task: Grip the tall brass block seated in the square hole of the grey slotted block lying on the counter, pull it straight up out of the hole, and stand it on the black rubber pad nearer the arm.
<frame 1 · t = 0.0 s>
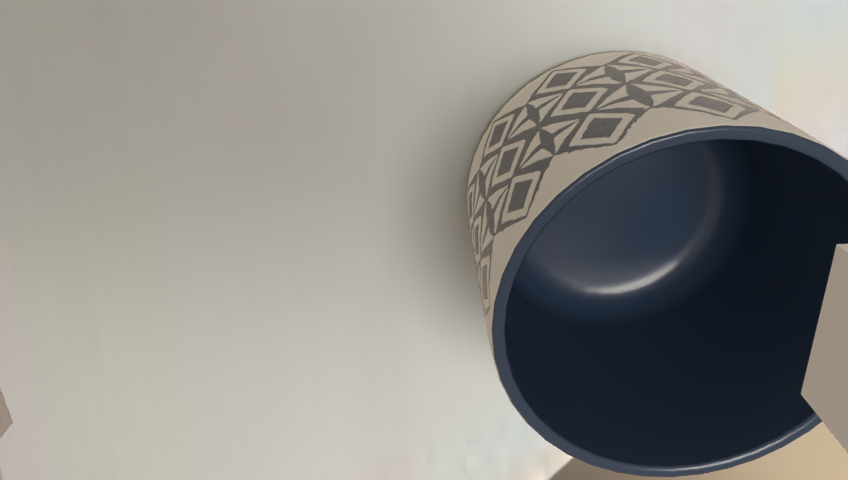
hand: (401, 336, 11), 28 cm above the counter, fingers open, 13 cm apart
planter: (603, 188, 40), on the counter
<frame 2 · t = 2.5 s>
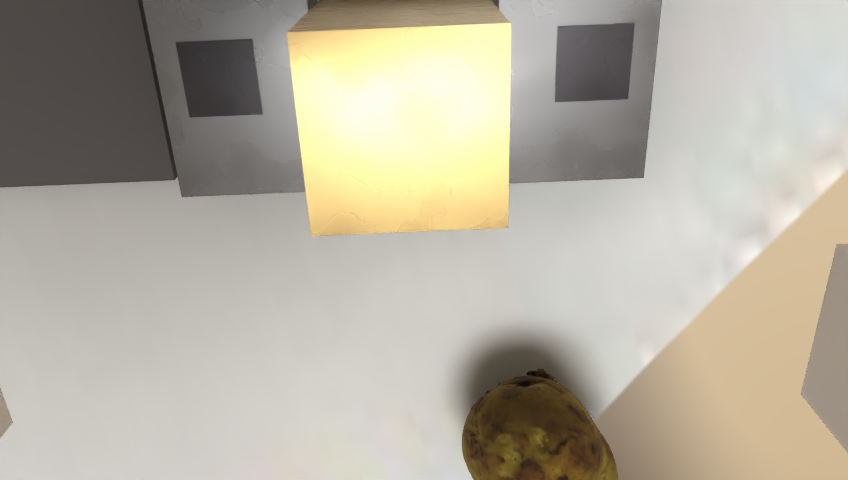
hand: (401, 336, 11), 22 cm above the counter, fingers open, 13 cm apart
pad: (45, 72, 31), on the counter
grey slotted block: (407, 56, 31), on the counter
potato: (529, 423, 40), on the counter
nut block: (407, 56, 31), resting in grey slotted block
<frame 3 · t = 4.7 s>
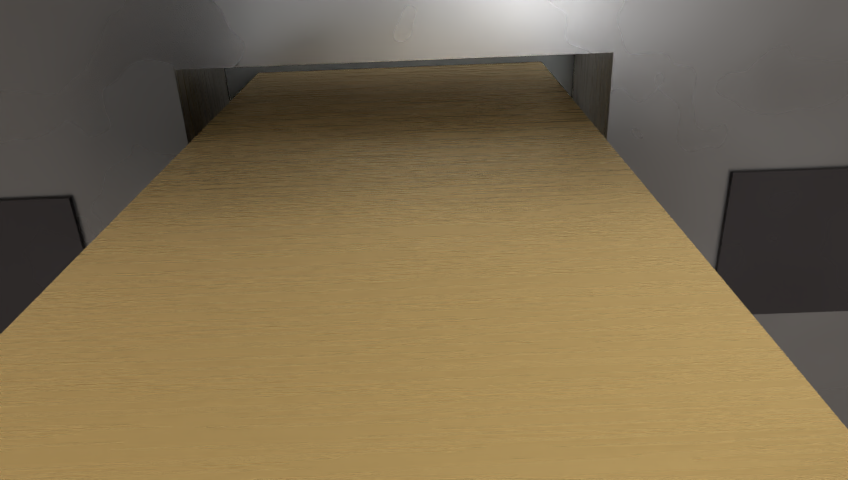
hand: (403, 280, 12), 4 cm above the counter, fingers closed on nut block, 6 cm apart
grey slotted block: (406, 199, 16), on the counter
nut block: (406, 198, 16), resting in grey slotted block, touching gripper
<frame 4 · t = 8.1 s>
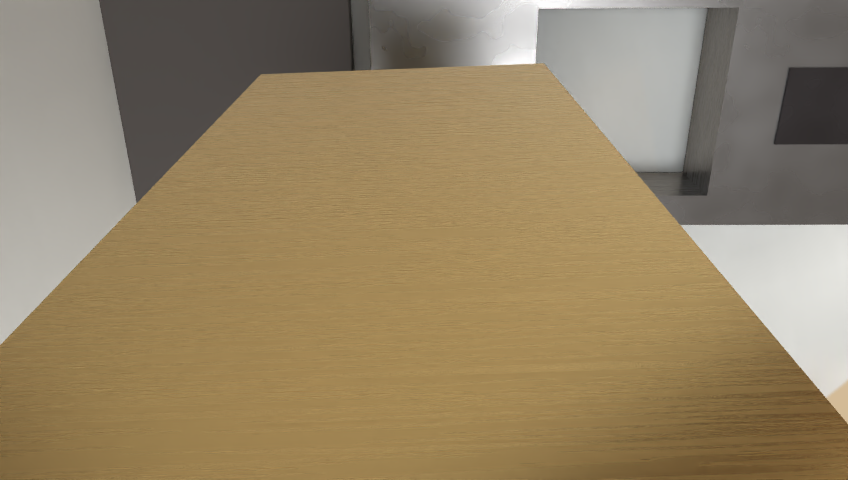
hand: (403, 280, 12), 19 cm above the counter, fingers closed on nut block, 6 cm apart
pad: (239, 92, 30), on the counter
grey slotted block: (609, 90, 30), on the counter
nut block: (408, 200, 16), point 15 cm above the counter, touching gripper
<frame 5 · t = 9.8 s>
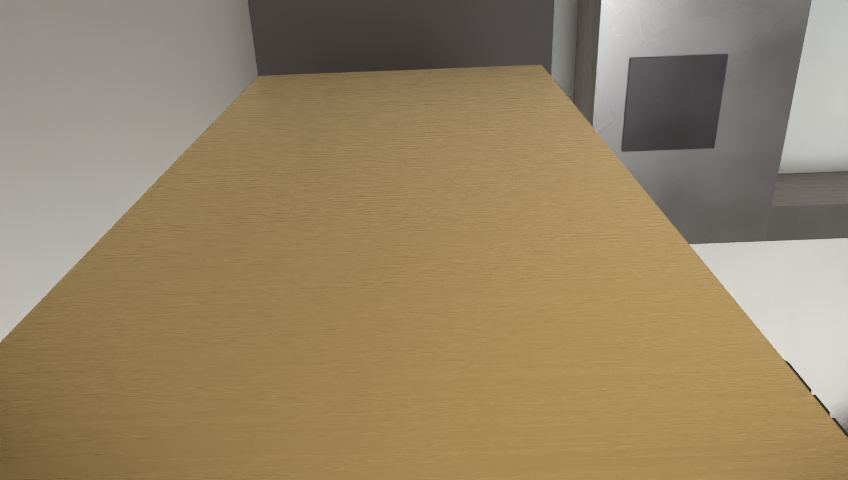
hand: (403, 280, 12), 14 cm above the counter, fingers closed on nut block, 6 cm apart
pad: (406, 92, 25), on the counter
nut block: (406, 201, 16), point 10 cm above the counter, touching gripper
when the fingers open (6 cm above the counter, at t = 11.4 s): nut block drops 2 cm, resting on pad.
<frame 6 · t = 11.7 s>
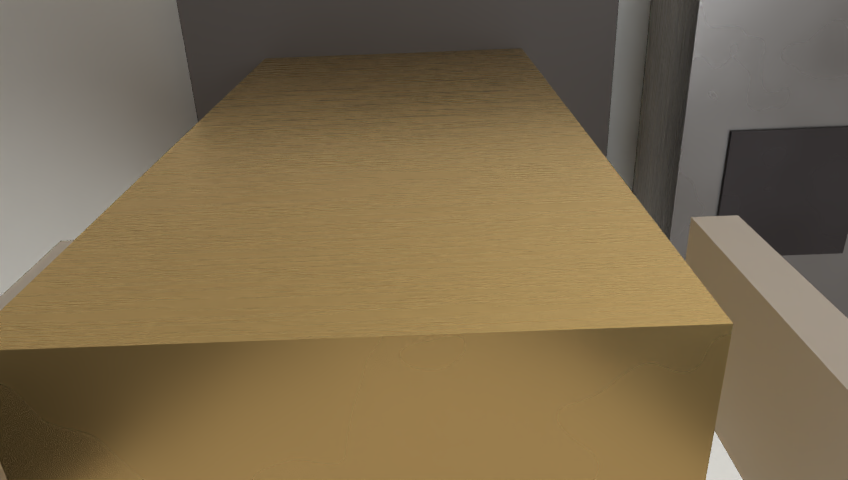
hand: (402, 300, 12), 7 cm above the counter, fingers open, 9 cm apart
pad: (407, 164, 18), on the counter
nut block: (399, 174, 17), point 1 cm above the counter, touching pad
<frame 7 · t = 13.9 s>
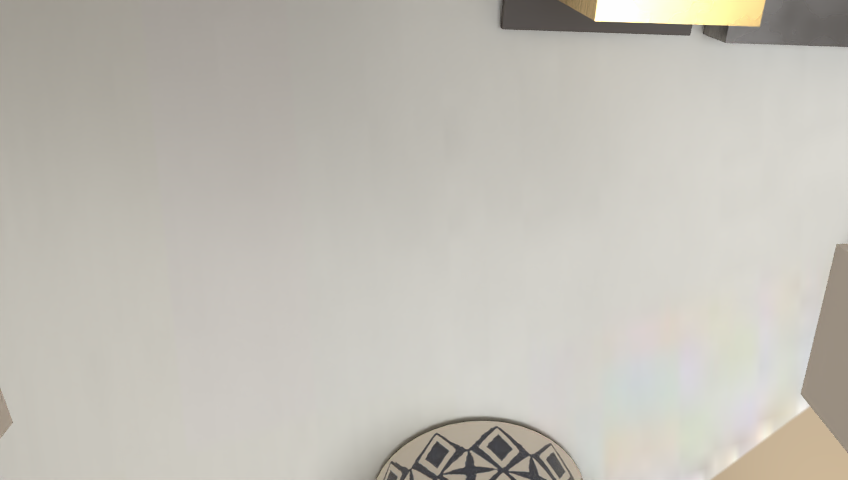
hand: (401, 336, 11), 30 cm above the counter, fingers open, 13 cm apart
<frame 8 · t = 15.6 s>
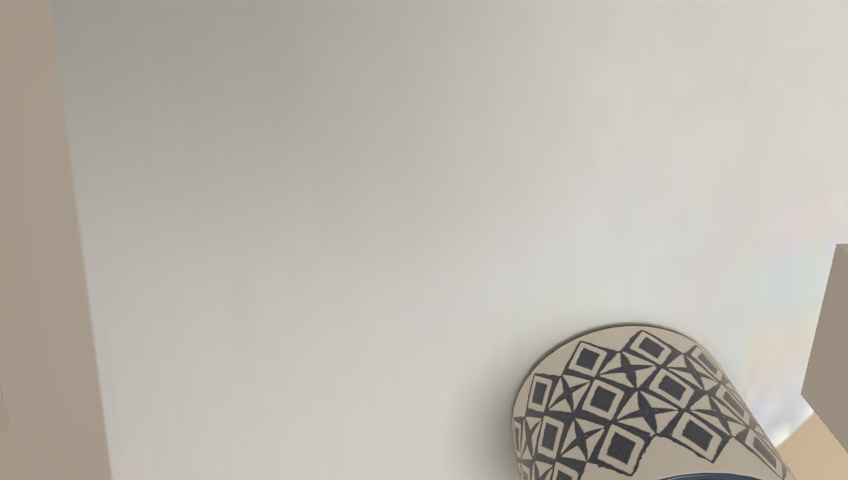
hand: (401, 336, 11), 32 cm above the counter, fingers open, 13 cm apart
planter: (617, 410, 52), on the counter
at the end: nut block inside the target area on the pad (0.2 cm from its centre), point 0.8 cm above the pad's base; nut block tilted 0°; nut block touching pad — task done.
